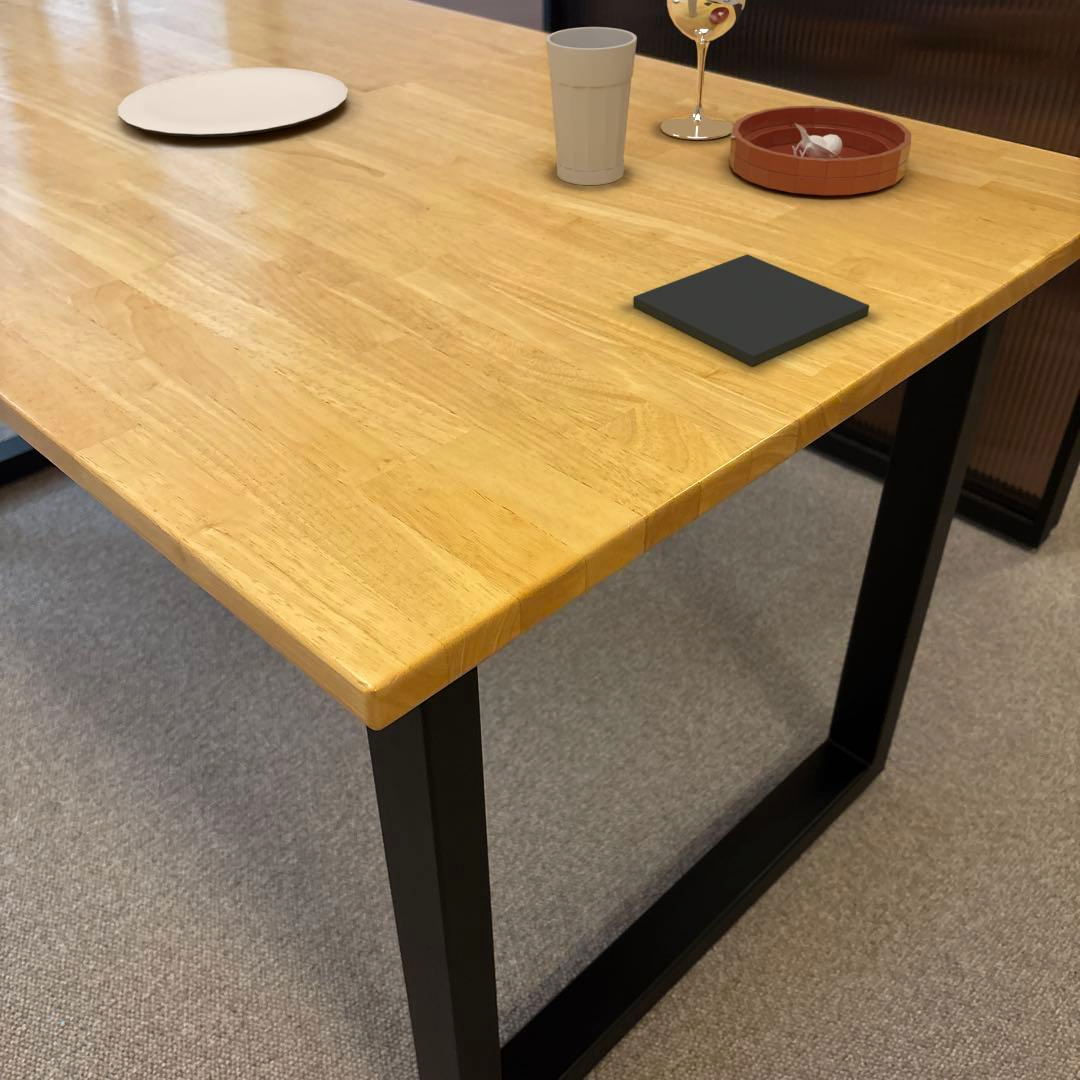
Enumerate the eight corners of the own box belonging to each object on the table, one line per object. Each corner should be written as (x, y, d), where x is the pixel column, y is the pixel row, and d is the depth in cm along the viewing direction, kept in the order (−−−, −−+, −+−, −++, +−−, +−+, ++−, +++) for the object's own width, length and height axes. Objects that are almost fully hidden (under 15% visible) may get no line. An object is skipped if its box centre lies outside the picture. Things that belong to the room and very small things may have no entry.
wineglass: (715, 145, 108) (734, -82, 96) (646, 134, 112) (655, -88, 100) (746, 124, 114) (767, -95, 101) (679, 114, 117) (691, -99, 105)
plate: (107, 157, 109) (103, 140, 108) (132, 89, 128) (128, 74, 127) (356, 137, 113) (354, 120, 112) (343, 74, 132) (342, 59, 131)
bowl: (940, 171, 101) (948, 133, 99) (825, 213, 94) (831, 173, 92) (807, 131, 112) (811, 95, 109) (694, 166, 104) (696, 128, 102)
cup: (531, 172, 103) (527, 37, 96) (593, 153, 107) (594, 22, 100) (587, 194, 98) (588, 54, 91) (649, 173, 102) (655, 37, 95)
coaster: (867, 315, 78) (869, 305, 78) (752, 366, 72) (753, 356, 72) (746, 263, 86) (747, 253, 85) (632, 306, 80) (633, 296, 79)
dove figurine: (866, 166, 100) (858, 119, 97) (822, 190, 100) (813, 144, 96) (821, 140, 106) (812, 95, 103) (780, 163, 106) (769, 118, 103)
